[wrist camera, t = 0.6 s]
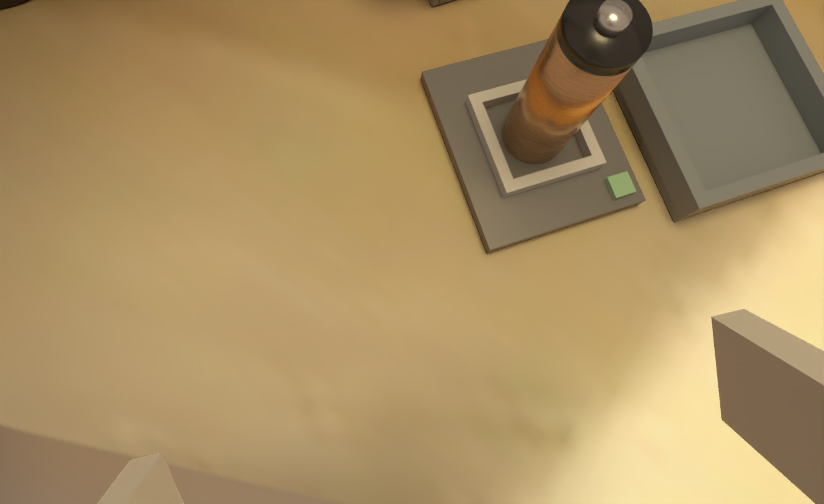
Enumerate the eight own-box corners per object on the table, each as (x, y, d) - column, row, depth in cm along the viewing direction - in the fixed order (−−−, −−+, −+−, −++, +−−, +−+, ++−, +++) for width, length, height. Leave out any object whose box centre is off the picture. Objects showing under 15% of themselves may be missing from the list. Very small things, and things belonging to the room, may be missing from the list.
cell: (492, 115, 37) (556, -16, 25) (549, 100, 38) (638, -36, 25) (515, 171, 36) (592, 64, 24) (572, 154, 37) (677, 41, 24)
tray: (597, 57, 40) (615, 32, 37) (748, 17, 42) (776, -10, 39) (673, 221, 37) (699, 208, 34) (830, 169, 39) (867, 153, 37)
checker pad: (420, 79, 38) (423, 63, 36) (565, 41, 40) (575, 24, 38) (486, 253, 36) (493, 246, 34) (638, 204, 37) (653, 195, 35)
